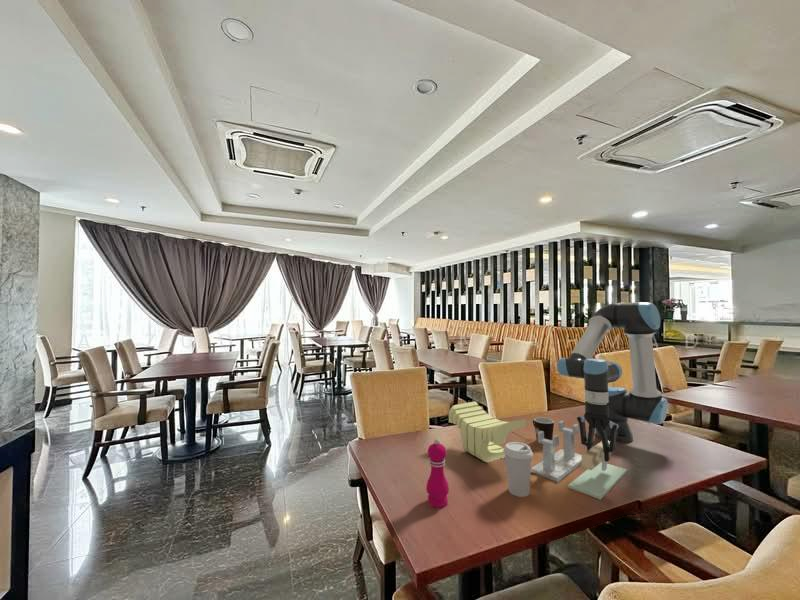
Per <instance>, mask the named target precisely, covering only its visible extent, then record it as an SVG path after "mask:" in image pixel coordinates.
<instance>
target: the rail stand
mask: <svg viewBox="0 0 800 600" xmlns="http://www.w3.org/2000/svg"><path fill="white" fill-rule="evenodd" d="M558 432H562V435H563V436H562V437H563V441H562V442H563V449H562V448H560V449H559V450H556V452H555V448H556V447H558V446H560V437H559V435H557V434H555V435H553V437H552V440H548V439H545V438H544V432H543V431H540V432H538V442H539V443H542V444H541V445H542V461H540V462H538V463H537V464H535V465H534V466H531V471H530V473H533V474H534V475H537V474H538V476H540V477H543V478H545V479H547V480H548V479H549V480H551V481H554V482H557V483H559V482H560V481H562V479H564V478H565V477H566V476H568V475H569V474H571V473H572V472H574V470H575V469H577V468H579V466H582V457H581V455H582V454H579V453H576V452H575V436H576V435H578V434H579V423H575V424H573V425H572V428H568V427H566V426H565V421H564V420H561V421H558ZM538 442H537V443H538ZM539 443H538V444H539Z"/></svg>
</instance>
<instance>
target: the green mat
mask: <svg viewBox="0 0 800 600" xmlns="http://www.w3.org/2000/svg"><path fill="white" fill-rule="evenodd" d="M627 473H628V469H626V468H623V467H620V466H618V465H613V464H609V463H607V469H606V470H605V471H602V462H601V463H600V464H598V465H597V466H596V467H595V468H594V469H592V470H588V469H585V471H584V472H582V473H581V474H580V475H579V476H577V477H576V478H575V479H574V480H572V482H570V483H569V484H568V485H567V487H568V488H569V489H571V490H574V491H576V492H579V493H581V494H584V495H588V496H590V497H592V498H595V499H598V500H599V501H602V499H603V498H604V497H605V496H606V495H607V493H609V492H610V490H612V488H613V487H614V486H615V485H616V484H617V483H618V482H619V481H621V479H622V478H624V476H625V474H627Z"/></svg>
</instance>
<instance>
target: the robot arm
mask: <svg viewBox="0 0 800 600" xmlns="http://www.w3.org/2000/svg"><path fill="white" fill-rule="evenodd" d="M660 327H661V316H660V312H659V310H658V308H657V306H656V304H654V303H652V302H645V301H644V302H642V301H639V302H637V301H636V302H634V301H633V302H613V303H610V304H606V305H604V306H602V307H601V308H599V309H598V310H597V311H596V312H594V313H593V314H592V315H591V317H589V320H588V326H587V327H586V329H585V331H584V332H583V334H582V335H581V337H580V338H579V339H578V342H577V343H576V344H575V346H574V348H573V350H572V351H571V352H570V354H569V356H568V357H560V358H559V359H558V361H557V363H556V369H557V372H558V374H560V376H565V377H568V378H577V379H582V380H584V382H583V383H584V412H585V413H584V414H583V415H579V416H577V417H576V419H577V422H578V428H579V434H580V443H581V444H582V445H583V446H585V447H586V452H587V451H588V450H590V449H591V448H593V447H594V437H595V435H596V436H597V437H598V436H599V437H598V438H600V437H601V441H602V445H603V451H602V452H601V458H602V471H605V470H606V469H607V464H608V462H609V461H610V458H611V457H610V455H609V452H613V453H614V452H615V451H616V447H617V443H630V442H632V441H633V439H634V438H633V432H632V429H631V428H630V425H629V423H628V419H631V420H634V421H640V422H644V423H648V424H655V425H661V424H663V423H664V422H665V419H666V417H667V415H668V414H667V413H668V408H669V402H668V399H667V398H666V397H663V396H662V392H661V391H660V390H658V388H657V377H656V369H655V358H654V357H655V356H654V346H653V344H654V343H653V336H654V335H655V334H656V333H657V330H658V329H660ZM612 329H623V334H624V335H625V336H627V337H628V346H629V347H628V348H629V357H630V368H631V369H630V370H631V380H632V388H631V389H629V392H628V390H627V388H625V387H618V386H617V387H616V386H615V387H614V386H612V387H611V386H610V387H609V383H613V382H617V381H618V380H619V379H621V378H622V376H623V368H622V366H621V365H619V363H617V362H616V361H609V360H608V361H607V360H606V359H603V358H593V356H594V354H595V353H596V351H597V350H598V347H599V346H600V344H601V343H602V341H603V339H604V338H605V336H606V334H608V333H610V332H611V330H612ZM586 422H587V424H588V432H587V428H586ZM587 433H588V434H587ZM608 440H610V446H609V443H608Z"/></svg>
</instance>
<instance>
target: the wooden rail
mask: <svg viewBox="0 0 800 600" xmlns="http://www.w3.org/2000/svg"><path fill="white" fill-rule="evenodd" d="M608 443H609V446H610V441H609V440H608ZM592 447H593V448H591V449H590V450H588V451H587V450H586V452H584V453H582V454H580V455H581V457H582V464H581V468H583V469H585V470H587V469H588V470H592V469H594V468H595V467H596V466H597V465H598V464H600V463H601V462H602V458H601V452H602V451H603V445H602V440H601V441H600V442H598V443H597V444H595V445H593V446H592ZM613 453H614V451H613V452H609V456H611V455H612V454H613Z"/></svg>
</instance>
